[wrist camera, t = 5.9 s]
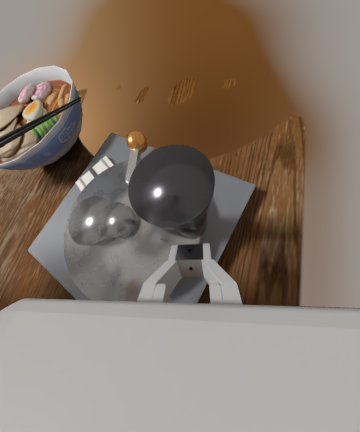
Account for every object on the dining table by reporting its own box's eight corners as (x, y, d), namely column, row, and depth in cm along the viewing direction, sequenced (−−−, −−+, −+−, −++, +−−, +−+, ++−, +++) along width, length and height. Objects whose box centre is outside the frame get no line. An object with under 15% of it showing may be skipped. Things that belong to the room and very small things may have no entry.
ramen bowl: (101, 88, 32) (67, 37, 24) (119, 158, 25) (80, 117, 18) (20, 132, 35) (-34, 98, 27) (16, 207, 28) (-59, 190, 20)
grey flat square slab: (42, 250, 23) (21, 250, 21) (118, 141, 27) (108, 128, 24) (163, 366, 16) (154, 390, 13) (251, 191, 19) (258, 182, 16)
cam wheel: (62, 291, 18) (-172, 359, 7) (97, 151, 24) (-1, 63, 12) (208, 314, 14) (218, 572, 3) (209, 139, 20) (213, -8, 8)
